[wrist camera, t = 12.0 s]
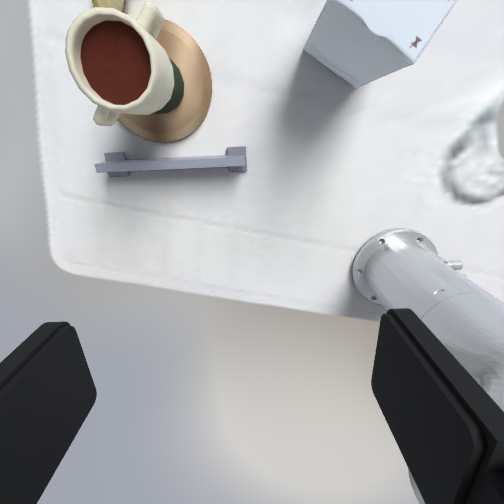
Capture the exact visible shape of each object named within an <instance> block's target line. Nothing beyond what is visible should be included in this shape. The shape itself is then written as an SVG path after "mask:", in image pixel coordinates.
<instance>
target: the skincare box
mask: <svg viewBox="0 0 504 504" xmlns="http://www.w3.org/2000/svg"><path fill="white" fill-rule="evenodd" d="M456 1H457V0H327V1H326V4H325V6H324V8H323V10H322V12H321V14H320V16H319V18H318V20H317V22H316V24H315V26H314V28H313V30H312V32H311V34H310V36H309V38H308V40H307V42H306V44H305V46H304V50H305V51H306V52H307V53H308V54H310V55H311V56H312V57H314V58H315V59H316V60H318V61H319V62H320V63H322V64H323V65H324V66H326V67H327V68H328V69H330V70H331V71H332V72H334V73H335V74H336V75H338V76H339V77H341V78H342V79H344V80H345V81H347V82H348V83H350V84H351V85H352V86H353V87H355V88H358V87H360V86H362V85H364V84H367V83H369V82H371V81H374V80H376V79H378V78H381V77H383V76H385V75H388V74H390V73H392V72H395V71H397V70H400V69H402V68H404V67H407V66H409V65H413V64H414V63H415V62H416V60H417V59H418V57H419V56H420V54H421V53H422V51H423V50H424V48H425V47H426V46H427V44H428V43H429V41H430V40H431V38H432V37H433V35H434V34H435V32H436V31H437V29H438V28H439V26H440V25H441V23H442V22H443V21H444V19H445V18H446V16H447V15H448V13H449V12H450V10H451V9H452V7H453V6H454V4H455V3H456Z"/></svg>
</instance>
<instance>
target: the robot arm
mask: <svg viewBox="0 0 504 504" xmlns="http://www.w3.org/2000/svg"><path fill="white" fill-rule="evenodd" d="M380 239H381V240H380ZM379 240H380V241H379ZM358 269H359V270H358ZM461 269H462V262H461V261H459V260H456V261H446V260H444V259H443V258H441V257H439V256H438V253H437V250H436V248H435V246H434V244H433V243H432V242H431V240H430V239H428V238H427V237H426V236H424V235H423V234H421V233H419V232H417V231H414V230H411V229H393V230H388V231H385V232H383V233H380V234H378V235H376V236H375V237H373V238H372V239H370V240H369V241H368V242H367V243H366V244H365V245H364V246H363V247H362V248H361V249H360V251H359V252H358V254H357V256H356V258H355V261H354V263H353V269H352V276H353V281H354V284H355V286H356V288H357V289H358V291H359V292H360V293H361V295H362V296H364V297H365V298H366V299H367V300H369V301H371V302H373V303H377V304H381V305H382V306H383V307H384V308H385V310H386V311H387V314H383V315H382V316H381V321H380V328H379V335H378V341H377V348H376V354H375V360H374V367H373V374H372V380H371V385H372V390H373V393H374V395H375V397H376V399H377V402H378V404H379V406H380V408H381V410H382V412H383V415H384V417H385V419H386V421H387V423H388V425H389V427H390V430H391V432H392V433H393V436H394V438H395V440H396V442H397V444H398V446H399V449H400V451H401V453H402V455H403V457H404V459H405V461H406V463H407V466H408V468H409V477H410V482H411V485H412V487H413V490H414V493H415V495H416V497H417V499H418V501H419V503H420V504H504V303H503V302H501V301H500V300H499V299H497V298H495V297H494V296H492V295H491V294H490V293H488V292H487V291H485V290H484V289H482V288H481V287H479V286H478V285H476V284H475V283H473V282H472V281H470V280H469V279H468V278H467V276H466V275H465V274H460V273H459V272H457V271H456V270H461ZM95 400H96V388H95V385H94V382H93V379H92V376H91V374H90V371H89V368H88V365H87V362H86V359H85V356H84V353H83V350H82V347H81V344H80V341H79V338H78V335H77V333H76V330H75V328H74V327H72V326H70V324H69V323H68V322H47V323H44V324H42V325H41V326H40V327H39V328H38V329H37V330H36V331H34V332H33V333H32V334H31V335H30V336H29V337H28V338H27V339H26V340H25V341H24V342H22V343H21V345H19V346H18V347H17V348H16V349H15V350H14V351H13V352H12V353H11V354H10V355H8V356H7V357H6V358H5V359H4V360H3V361H2V362H1V363H0V504H37V502H38V500H39V499H40V497H41V495H42V493H43V492H44V490H45V488H46V487H47V485H48V483H49V481H50V480H51V478H52V476H53V474H54V473H55V471H56V469H57V467H58V466H59V464H60V462H61V460H62V459H63V457H64V455H65V453H66V452H67V450H68V448H69V446H70V445H71V443H72V441H73V440H74V438H75V436H76V434H77V432H78V431H79V429H80V427H81V426H82V423H83V422H84V420H85V418H86V417H87V415H88V413H89V412H90V410H91V408H92V406H93V405H94V403H95Z"/></svg>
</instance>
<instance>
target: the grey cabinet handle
mask: <svg viewBox="0 0 504 504" xmlns="http://www.w3.org/2000/svg"><path fill="white" fill-rule="evenodd" d="M227 154H228V155H225V156H203V157H182V158H161V159H140V160H126V158H125V153H124V152H119V153H104V155H105V159H106V162H102V163H98V164H95V167H96V171H97V173H100V172H109V177H120V176H129V172H128V171H143V170H164V169H185V168H207V167H228V168H229V171H247V164H246V146H245V147H227Z"/></svg>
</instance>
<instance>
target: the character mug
mask: <svg viewBox="0 0 504 504" xmlns="http://www.w3.org/2000/svg"><path fill="white" fill-rule="evenodd" d="M163 23H164V17H163V15H162V13H161V12H160V11H159V9H158V8H157V7H156V5H155V4H154V3H152V2H147V1H146V3H145V5H144V6H143V8H142V10H141V12H140V14H139V16H138V19H137V21H136V20H135V19H134V18H133V17H131V16H129V15H127V14H125V13H123V12H121V11H119V10H117V9H114V8H103V7H94V8H92V9H90V10H87V11H85V12H83V13H80V15H79V16H78V17H77V18H76V19H75V20H74V21H73V22H72V24H71V26H70V28H69V29H68V33H67V37H66V48H65V53H66V58H67V62H68V66H69V71H70V73H71V75H72V76H73V78H74V80H75V82H76V84H77V85H78V87H79V89H80V90H81V91H82V92H83V93H84V94H85V95H86V96H87V97H88V98H89V99H90V100H91V101H92V102H93V103H95V104H97V105H98V107H97V109H96V111H95V114H94V118H93V120H94V121H95V123H96V124H97V125H101V126H112V125H114V124H115V123H116V121H117V119H118V117H119V115H120V113H127V114H136V115H149V114H151V113H155V114H165V113H169V112H171V111H172V110H174V109H176V108H177V107H178V106H179V104H180V102H181V100H182V98H183V97H184V81H183V78H182V75H181V72H180V69H179V68H178V67H177V66H176V64H175V63H174V62H173V61H172V60H171V59H170V58H169V57H168V55H167V53H166V51H165V49H164V48H163V47H162V46H161V45H160V44H159V43H158V42H157V40H156V39H157V37H158V34H159V32H160V30H161V28H162V26H163Z"/></svg>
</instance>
